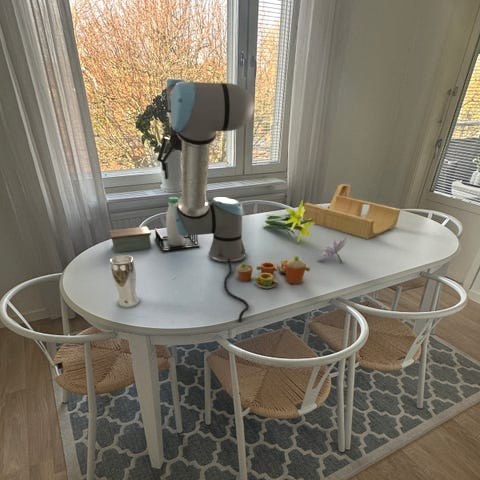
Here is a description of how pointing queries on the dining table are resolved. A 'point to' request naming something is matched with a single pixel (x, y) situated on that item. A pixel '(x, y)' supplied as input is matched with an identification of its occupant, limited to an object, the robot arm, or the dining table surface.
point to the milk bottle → (173, 224)
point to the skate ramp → (352, 215)
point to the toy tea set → (289, 267)
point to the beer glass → (125, 279)
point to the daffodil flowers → (290, 221)
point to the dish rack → (175, 248)
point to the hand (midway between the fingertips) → (182, 179)
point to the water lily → (337, 247)
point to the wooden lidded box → (130, 239)
